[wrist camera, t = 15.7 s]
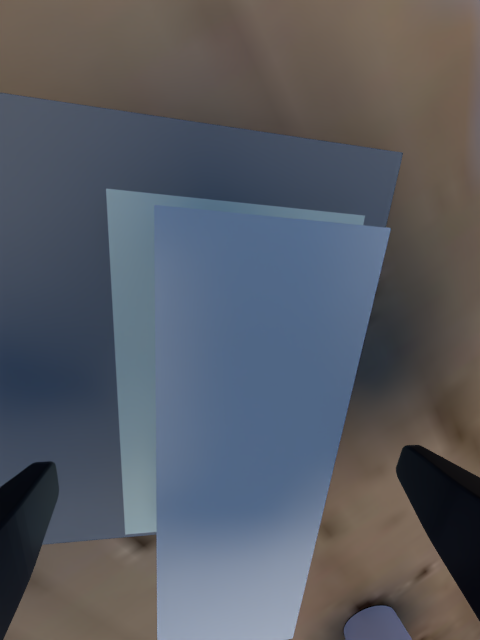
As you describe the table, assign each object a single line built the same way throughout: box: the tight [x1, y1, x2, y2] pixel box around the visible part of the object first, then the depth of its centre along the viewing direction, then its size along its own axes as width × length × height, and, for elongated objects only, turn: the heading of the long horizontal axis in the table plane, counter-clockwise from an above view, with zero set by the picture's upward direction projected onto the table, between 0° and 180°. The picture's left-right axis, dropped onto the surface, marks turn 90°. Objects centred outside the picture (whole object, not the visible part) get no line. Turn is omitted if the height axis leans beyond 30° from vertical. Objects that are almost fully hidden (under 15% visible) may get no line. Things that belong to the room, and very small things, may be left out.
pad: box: [106, 189, 365, 535], centre depth 11 cm, size 13×8×1 cm, turn 175°
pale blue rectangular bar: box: [154, 205, 391, 640], centre depth 8 cm, size 12×4×4 cm, turn 175°
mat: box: [0, 93, 403, 545], centre depth 10 cm, size 16×23×1 cm
